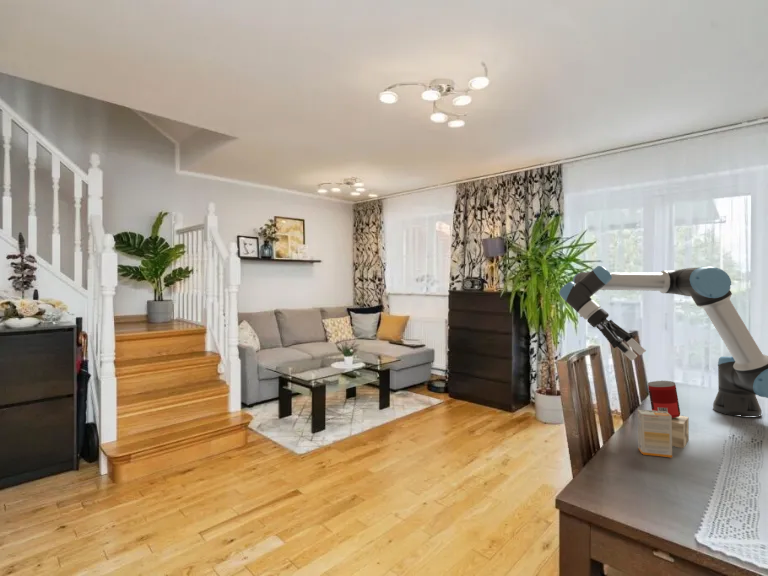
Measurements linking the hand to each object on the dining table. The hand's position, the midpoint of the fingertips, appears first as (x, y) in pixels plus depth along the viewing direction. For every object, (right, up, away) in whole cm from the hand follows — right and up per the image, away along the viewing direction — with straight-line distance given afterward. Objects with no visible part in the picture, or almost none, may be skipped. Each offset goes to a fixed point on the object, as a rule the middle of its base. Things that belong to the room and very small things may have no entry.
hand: (639, 355), depth 150 cm
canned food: (+3, -19, -11) cm, 22 cm away
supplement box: (-9, -27, -22) cm, 36 cm away
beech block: (+3, -27, -11) cm, 29 cm away
